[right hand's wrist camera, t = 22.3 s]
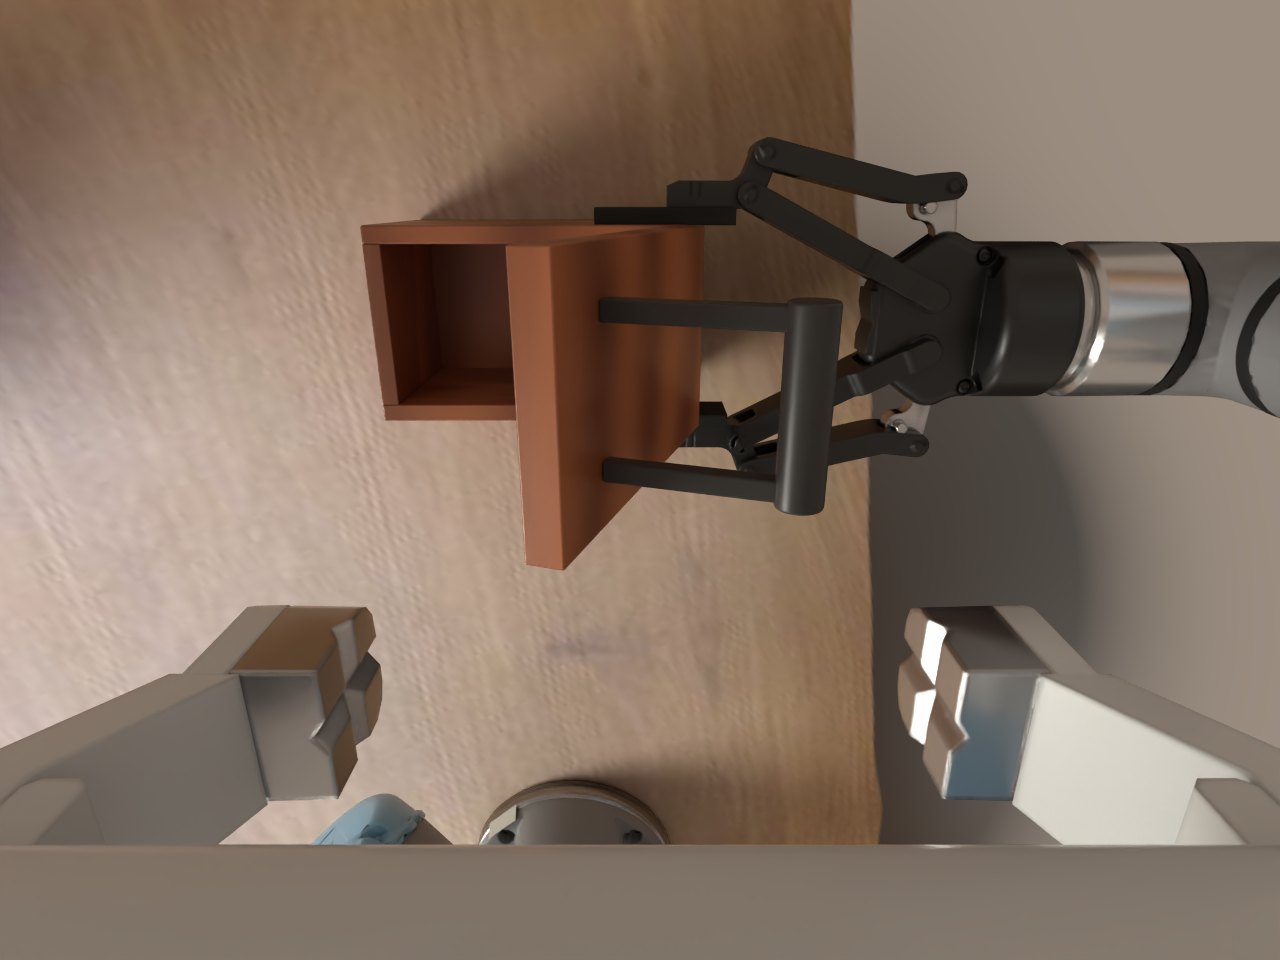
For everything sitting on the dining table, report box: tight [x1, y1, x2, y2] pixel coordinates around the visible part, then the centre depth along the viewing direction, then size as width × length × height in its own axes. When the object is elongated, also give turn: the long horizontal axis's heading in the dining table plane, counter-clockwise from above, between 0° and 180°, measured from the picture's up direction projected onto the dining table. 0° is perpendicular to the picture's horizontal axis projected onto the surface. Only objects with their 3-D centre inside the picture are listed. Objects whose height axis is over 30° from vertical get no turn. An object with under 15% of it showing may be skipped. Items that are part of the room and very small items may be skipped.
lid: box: [506, 225, 843, 570], centre depth 26 cm, size 16×9×8 cm
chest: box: [360, 220, 689, 421], centre depth 39 cm, size 15×9×9 cm, turn 90°
